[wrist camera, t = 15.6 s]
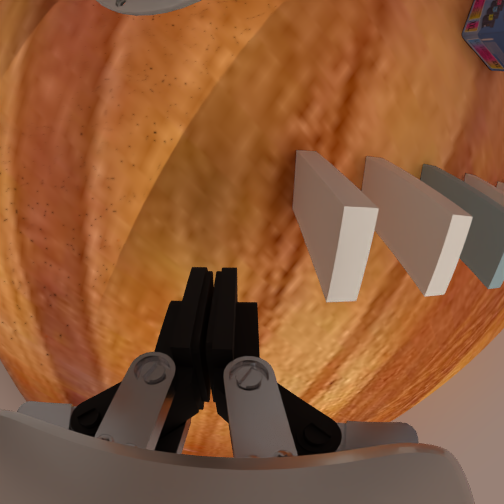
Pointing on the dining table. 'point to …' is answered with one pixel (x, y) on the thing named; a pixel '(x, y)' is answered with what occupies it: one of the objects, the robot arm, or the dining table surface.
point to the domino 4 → (485, 188)
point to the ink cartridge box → (487, 32)
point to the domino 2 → (416, 224)
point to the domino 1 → (333, 225)
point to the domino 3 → (475, 225)
